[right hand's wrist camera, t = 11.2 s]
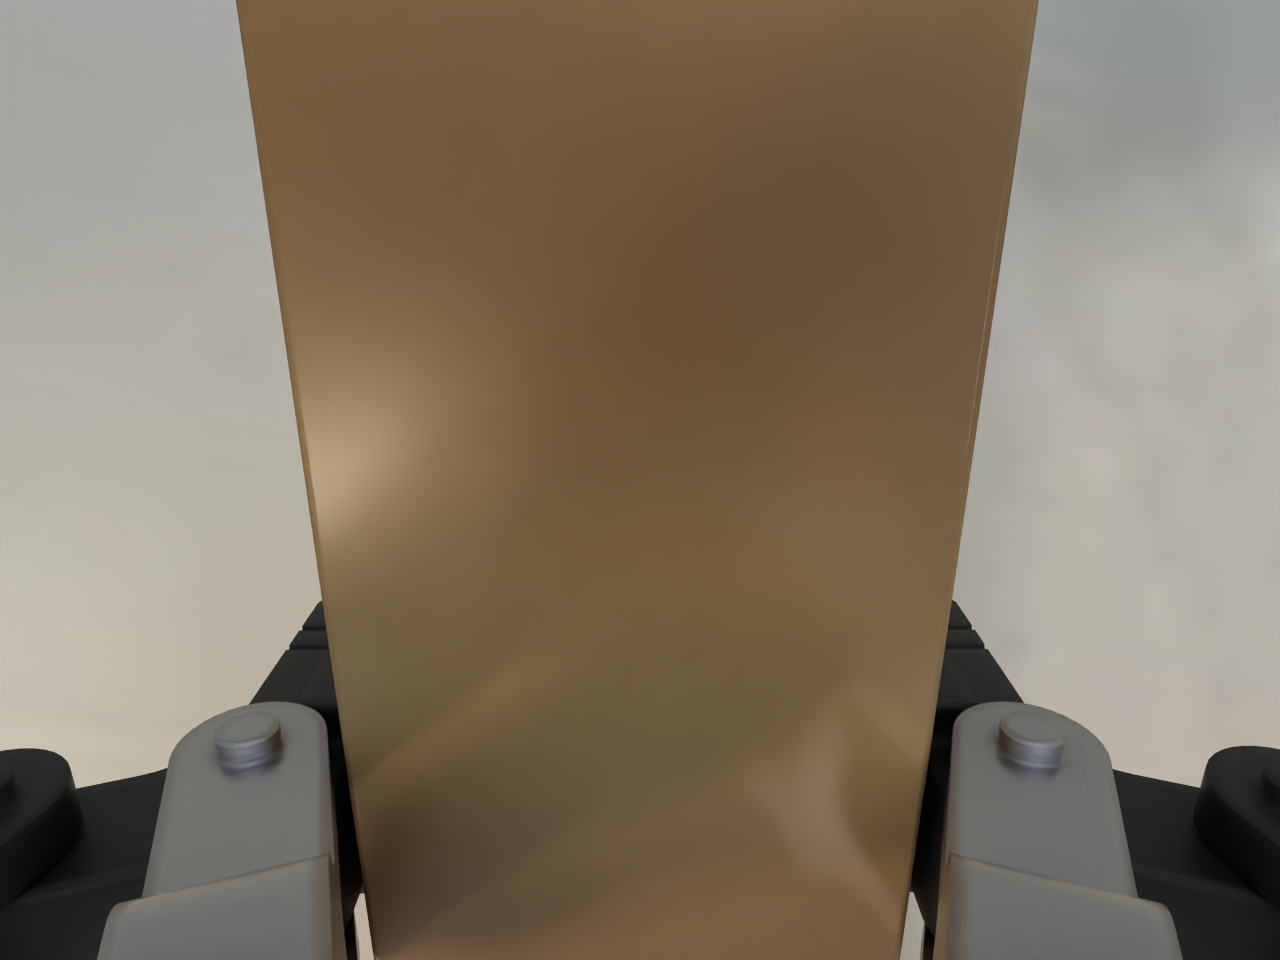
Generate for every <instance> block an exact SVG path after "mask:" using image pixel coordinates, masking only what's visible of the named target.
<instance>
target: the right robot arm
mask: <svg viewBox="0 0 1280 960" xmlns="http://www.w3.org/2000/svg"><path fill="white" fill-rule="evenodd" d="M302 627H303V629H302V631H299V632H298V633H297V635H296V636H295V638H294V639H293V641H292V642H291V644H290V645H289V646H290V648H289V650H286V651H285V652H284V654H283V655H282V657H281V658H280V660H279V661H278V663H277V664H276V666H275V667H274V669H273V670H272V671H271V673H270V674H269V676H268V677H267V679H266V680H265V682H264V683H263V685H262V686H261V688H260V689H259V690H258V692H257V693H256V695H255V696H254V698H253V699H252V701H251V702H250V704H249V705H246V706H242V707H238V708H235V709H232V710H229V711H226V712H224V713H221V714H219V715H216V716H214V717H212V718H210V719H208V720H207V721H205V722H203V723H201V724H200V725H198V726H197V727H195V728H194V729H192V730H191V731H190V732H189V733H188V734H186V735H185V736H184V737H183V738H182V739H181V740H180V742H179V743H178V744H177V745H176V747H175V748H174V750H173V752H172V754H171V757H170V759H169V764H168V768H166V769H163V770H160V771H157V772H153V773H149V774H145V775H141V776H136V777H131V778H126V779H122V780H117V781H112V782H107V783H102V784H97V785H92V786H87V787H82V788H77V789H76V787H75V784H74V780H73V777H72V773H71V769H70V767H69V764H68V762H67V761H66V760H65V759H64V758H63V757H62V756H60V755H59V754H57V753H55V752H51V751H48V750H43V749H34V748H30V749H12V750H5V751H0V960H360V953H359V942H358V935H357V928H356V921H355V915H354V908H355V905H356V902H357V900H358V897H359V894H360V893H364V886H363V879H362V872H361V865H360V858H359V851H358V844H357V837H356V830H355V823H354V817H353V810H352V803H351V796H350V789H349V782H348V775H347V768H346V761H345V754H344V747H343V740H342V733H341V726H340V719H339V712H338V705H337V699H336V692H335V685H334V678H333V671H332V664H331V657H330V650H329V643H328V636H327V629H326V622H325V615H324V608H323V601H321V602H319V603H318V604H317V606H316V607H315V609H314V610H313V611H312V613H311V614H310V616H309V617H308V619H307V620H306V622H305V623H304V625H303V626H302ZM910 892H914V895H915V898H916V900H917V903H918V906H919V909H920V912H921V914H922V917H923V920H924V927H923V934H922V941H921V951H920V960H1280V749H1274V748H1269V747H1260V746H1238V747H1231V748H1227V749H1223V750H1221V751H1219V752H1217V753H1215V754H1214V755H1213V756H1212V757H1211V758H1210V759H1209V761H1208V763H1207V765H1206V769H1205V772H1204V776H1203V780H1202V783H1201V787H1200V788H1198V787H1193V786H1188V785H1183V784H1178V783H1173V782H1168V781H1163V780H1158V779H1154V778H1149V777H1144V776H1139V775H1134V774H1130V773H1126V772H1121V771H1117V770H1114V769H1112V764H1111V760H1110V757H1109V754H1108V752H1107V750H1106V749H1105V747H1104V745H1103V744H1102V743H1101V742H1100V741H1099V739H1098V738H1097V737H1096V736H1095V735H1093V734H1092V733H1091V732H1090V731H1089V730H1087V729H1086V728H1085V727H1083V726H1082V725H1080V724H1079V723H1077V722H1075V721H1073V720H1071V719H1070V718H1068V717H1066V716H1064V715H1061V714H1059V713H1056V712H1054V711H1051V710H1048V709H1045V708H1042V707H1038V706H1034V705H1030V704H1024V702H1023V701H1022V699H1021V698H1020V696H1019V695H1018V693H1017V692H1016V690H1015V689H1014V687H1013V686H1012V684H1011V683H1010V681H1009V680H1008V678H1007V677H1006V675H1005V674H1004V673H1003V671H1002V670H1001V668H1000V667H999V665H998V664H997V662H996V661H995V659H994V658H993V656H992V655H991V653H990V652H989V650H988V649H985V648H984V643H983V641H982V640H981V638H980V637H979V635H978V634H977V632H976V631H975V630H972V625H971V624H970V622H969V621H968V619H967V618H966V616H965V615H964V613H963V612H962V610H961V609H960V607H959V606H958V604H957V603H956V602H955V601H953V600H952V602H951V609H950V616H949V623H948V630H947V637H946V643H945V650H944V657H943V664H942V671H941V678H940V685H939V692H938V699H937V706H936V712H935V719H934V726H933V733H932V740H931V747H930V754H929V761H928V768H927V775H926V781H925V788H924V795H923V802H922V809H921V816H920V823H919V830H918V837H917V844H916V850H915V857H914V864H913V871H912V878H911V885H910Z"/></svg>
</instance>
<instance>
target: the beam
mask: <svg viewBox="0 0 1280 960" xmlns="http://www.w3.org/2000/svg"><path fill="white" fill-rule="evenodd" d="M1038 2H1039V0H236V4H237V11H238V18H239V25H240V32H241V39H242V46H243V53H244V60H245V67H246V74H247V81H248V88H249V94H250V101H251V108H252V115H253V122H254V129H255V136H256V143H257V150H258V157H259V164H260V171H261V178H262V185H263V192H264V199H265V206H266V212H267V219H268V226H269V233H270V240H271V247H272V254H273V261H274V268H275V275H276V282H277V289H278V296H279V303H280V310H281V317H282V324H283V331H284V337H285V344H286V351H287V358H288V365H289V372H290V379H291V386H292V393H293V400H294V407H295V414H296V421H297V428H298V435H299V442H300V449H301V455H302V462H303V469H304V476H305V483H306V490H307V497H308V504H309V511H310V518H311V525H312V532H313V539H314V546H315V553H316V560H317V567H318V574H319V580H320V587H321V594H322V601H323V608H324V615H325V622H326V629H327V636H328V643H329V650H330V657H331V664H332V671H333V678H334V685H335V692H336V699H337V705H338V712H339V719H340V726H341V733H342V740H343V747H344V754H345V761H346V768H347V775H348V782H349V789H350V796H351V803H352V810H353V817H354V823H355V830H356V837H357V844H358V851H359V858H360V865H361V872H362V879H363V886H364V893H365V900H366V907H367V914H368V921H369V928H370V935H371V942H372V948H373V955H374V960H900V954H901V947H902V940H903V933H904V926H905V919H906V912H907V906H908V899H909V892H910V885H911V878H912V871H913V864H914V857H915V850H916V844H917V837H918V830H919V823H920V816H921V809H922V802H923V795H924V788H925V781H926V775H927V768H928V761H929V754H930V747H931V740H932V733H933V726H934V719H935V712H936V706H937V699H938V692H939V685H940V678H941V671H942V664H943V657H944V650H945V643H946V637H947V630H948V623H949V616H950V609H951V602H952V595H953V588H954V581H955V575H956V568H957V561H958V554H959V547H960V540H961V533H962V526H963V519H964V512H965V506H966V499H967V492H968V485H969V478H970V471H971V464H972V457H973V450H974V443H975V437H976V430H977V423H978V416H979V409H980V402H981V395H982V388H983V381H984V374H985V368H986V361H987V354H988V347H989V340H990V333H991V326H992V319H993V312H994V306H995V299H996V292H997V285H998V278H999V271H1000V264H1001V257H1002V250H1003V243H1004V237H1005V230H1006V223H1007V216H1008V209H1009V202H1010V195H1011V188H1012V181H1013V174H1014V168H1015V161H1016V154H1017V147H1018V140H1019V133H1020V126H1021V119H1022V112H1023V105H1024V99H1025V92H1026V85H1027V78H1028V71H1029V64H1030V57H1031V50H1032V43H1033V37H1034V30H1035V23H1036V16H1037V9H1038Z"/></svg>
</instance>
